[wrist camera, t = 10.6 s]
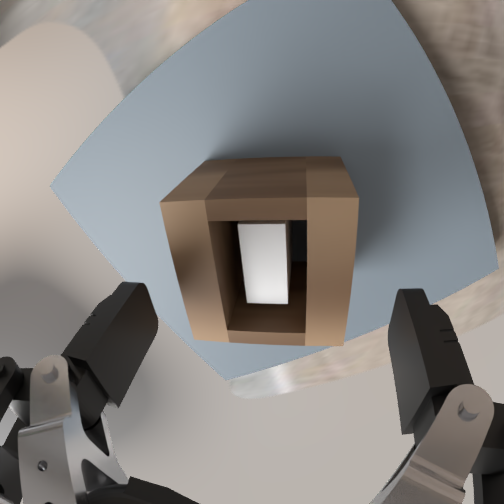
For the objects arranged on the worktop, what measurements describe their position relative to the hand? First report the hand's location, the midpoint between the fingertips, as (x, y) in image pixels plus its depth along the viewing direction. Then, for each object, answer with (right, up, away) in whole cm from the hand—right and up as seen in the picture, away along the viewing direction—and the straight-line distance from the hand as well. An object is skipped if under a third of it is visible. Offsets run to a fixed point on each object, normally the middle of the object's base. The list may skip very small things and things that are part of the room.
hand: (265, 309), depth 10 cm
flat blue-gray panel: (+1, +4, +7) cm, 8 cm away
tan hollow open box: (+1, +3, +5) cm, 6 cm away
